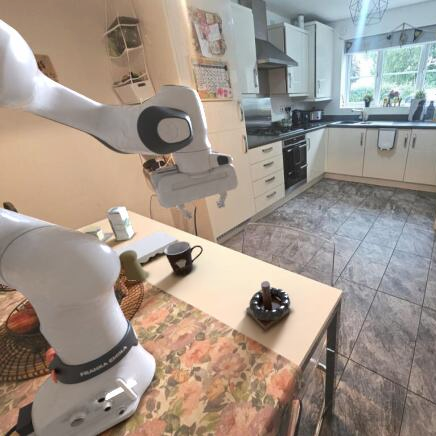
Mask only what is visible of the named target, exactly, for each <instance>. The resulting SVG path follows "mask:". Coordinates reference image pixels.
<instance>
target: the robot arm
mask: <svg viewBox="0 0 436 436" xmlns="http://www.w3.org/2000/svg"><path fill="white" fill-rule="evenodd" d="M0 108H4V109H6V110H7V109H9V110H14V111H19V112H24V113H29V114H32V115H35V116H38V117H41V118H44V119H46V120H49V121H52V122H55V123H57V124H60V125H63V126H66V127H69V128H73V129H75V130H77V131H80V132H83V133H85V134H87V135H89V136H90V137H92V138H93V139H95V140H96V141H97V142H99V143H100V144H101V145H103V146H104V147H106V148H107V149H109V150H110V151H112V152H114V153H117V154H121V155H147V156H166V155H171V154H172V158H173V163H174V164H172V165H168V166H164V167H157V168H155V170H154V171H152V172H151V173H150V181H151V185H152V186H153V187H154V188H155V193H156V198H157V202H158V204H159V205H160V206H161V207H163V208H164V209H170V208H174V207H176V208H177V210H179V211H180V212H181V213H182V216H183V218H184V220H186V221H187V220H188V221H189V220H191V219H193V215H192V212H191V211H189V210H185V208H186V206H185V205H186V204H188V203H191V202H195V201H199V200H201V199H205V198H209V197H212V196H215V195H220V196H219V199H218V200H217V201H216V204H217V208H218V209H223V208H226V204H225V202H226V199H227V197H228V192H229V191H233V190H236V189H237V188H238V185H239V181H238V176H237V171H236V168H235V167H234V165H233V164H232V163H233V157H232V156H231V155H230V154H226V153H221V152H219V151H212V146H211V143H210V141H209V139H208V124H207V123H208V122H207V119H206V114H205V110H204V107H203V103H202V101H201V98H200V95H199V93H198V92H197V90H195V89H193V88H192V87H189V86H186V85H178V84H163V85H161V86H160V87H159V90H158V91H157V92H156V93H155V95H153V96H152V97H151V98H149V99H147V100H146V101H143V102H141V104H127V105H124V104H105V103H101V102H98V101H95V100H93V99H92V98H89V97H87V96H85V95H83V94H81V93H79V92H77V91H75V90H73V89H71V88H68V87H66V86H65V85H62V84H60V83H59V82H57V81H55V80H53V79H51V78H50V77H48V76H47V75H45V74H44V73H43V72H42V71H41V70H40V69H39V66H38V62H37V60H36V57H35V55H34V53H33V51H32V49H31V48H30V46H29V44H28V43H27V41H26V40H25V39H24V38H23V36H22V35H21V34H20V33H19V31H17V30H16V29H15V28H14V27H12V26H10V25H9V24H8V23H6V22H5V21H4V20H2V19H0ZM121 264H122V263H121V261H120V259H119V256H118V255H117V253H116V252H115V249H113V248H112V247H111V246H109V244H107V243H106V242H104V241H101V240H100V239H98V238H97V237H95V236H93V235H90V234H87V233H85V232H82V231H80V230H76V229H72V228H69V227H67V226H63V225H60V224H57V223H52V222H49V221H46V220H42V219H39V218H36V217H33V216H30V215H26V214H24V213H23V214H22V213H19V212H16V211H13V210H10V209H6V208H3V207H0V285H3V286H6V287H9V288H13V289H15V290H16V291H17V292H18V293H19V294H20V295H22V296H23V297H24V298H25V299H26V300H27V301H28V303H29V304H30V305H31V306H32V308H33V310H34V311H35V314H36V316H37V318H38V321H39V331H40V333H41V335H42V336H43V337H44V339H45V340H46V341H47V343H48V344H49V346H50V348H49V349H48V350H47V351H46V353H45V361H46V362H47V363H48V371H49V373H50V375H49V376H48V377H47V378H46V379H45V380H44V382H43V383H42V384H40V386H39V387H38V388H37V390H36V392H35V394H34V397H33V401H31V402H30V403H28V404H26V405H24V406H22V407H20V408H19V409H18V415H17V421H16V423H15V425H14V426H13V427H12V428H10V429H9V430H8V431H7V432H6V434H4V436H11V435H12V434H13V433H14V432H16V433H17V434H18V436H97V435H99V434H101V433H103V432H105V431H107V430H109V429H110V428H112V427H114V426H116V425H117V424H119V423H121V422H123V421H124V420H127V419H128V418H130V417H132V415H134V414H135V412H136V410H137V409H138V406H139V404H140V400H141V398H142V396H143V395H144V393H145V391H147V389H148V388H149V386H150V384H151V382H152V381H153V378H154V376H155V374H156V367H157V363H156V359H155V357H154V356H153V355H152V354H151V353H150V352H148V351H147V350H146V349H145V348H144V347H143V346H142V345H141V343H140V342H139V337H138V335H137V332H136V330H135V328H134V325H133V323H131V321H130V320H129V318H127V317H125V315H124V312H123V310H122V308H121V306H120V303H119V302H118V298H117V297H116V293H115V284H116V283H117V281H118V279H119V276H120V272H121Z"/></svg>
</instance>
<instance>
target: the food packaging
mask: <svg viewBox="0 0 436 436" xmlns="http://www.w3.org/2000/svg"><path fill="white" fill-rule="evenodd" d="M175 242H179V239H178V238H176V237H174V236H172V235H171V234H168V233H167V232H165V231H163V230H158V231H156V232H153V233H151V234H149V235H147V236H145V237H142V238H140V239H138V240H135V241H134V242H131V243H129V244H127V245H125V246H122V247H119V248H117V249H114V251H115V252H116V253H117V255H118V256H120V254H121V253H123V252H125V251H128V250H133V251H135V252H136V253H137V260H138V262H139V263H140V264H142V263H143V264H144V263H147V262H148V261H149V260H150V258H151V257H152V258H153V257H155V256H156V254H163V253H164V249H165V248H166V247H167V246H169V245H170V244H172V243H175Z"/></svg>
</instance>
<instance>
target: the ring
mask: <svg viewBox="0 0 436 436" xmlns="http://www.w3.org/2000/svg"><path fill="white" fill-rule="evenodd" d="M270 290H271V296H273V297H277V298H278V299H279V300H280V301H281V304H280V306H279V307H278V308H276V309H275V310H270V311H266V310H262V309H261V308H260V307H259V302H260V301H261V300H262V299H263V297H262V289H259V290H258V291H257V292H255V293H254V294H253V295H252V297H251V299H250V300H249V305H248V306H250V312H251V313H252V314H253V315H254V316H255V317H256V318H257V319H260V320H264V321H272V320H276V319H279V318H281V317H282V316H283V315H284V314H286V313H287V311H288V309H289V308H290V306H291V300H290V296H289V294H288V293H287V292H286V291H285V290H283V289H281V288H279V287H271V286H270ZM281 319H282V318H281Z"/></svg>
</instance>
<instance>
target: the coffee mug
mask: <svg viewBox="0 0 436 436" xmlns="http://www.w3.org/2000/svg"><path fill="white" fill-rule="evenodd" d="M196 248H200V252H199V254H197V255H196V256H195V257H194V258H193V257H192V255H193V254H192V253H193V251H194V249H196ZM203 251H204V248H203V247H202V246H201V245H198V244H197V245H194V246H192V247H191V243H190V242H189V241H185V240H182V241H181V240H180V241H178V242H175V243H172V244H170V245H169V246H167V247H166V248H165V249H164V252H163V253H164V255H165V257H166V259H167V260H168V263H169V265H170V267H171V269H172V271H173V273H174V275H175V276H177V277H185V276H187V275H189V274H190V273H192V272H193V270H194V265H193V263H194V262H195V261H196V260H197V259H198V258H199V257H200V256H201V255H202V253H203Z"/></svg>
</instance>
